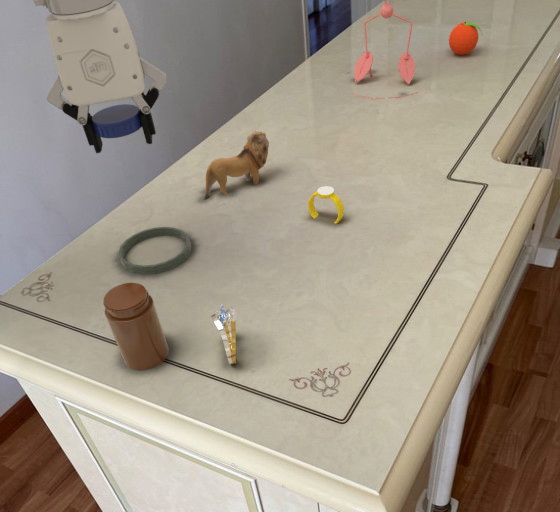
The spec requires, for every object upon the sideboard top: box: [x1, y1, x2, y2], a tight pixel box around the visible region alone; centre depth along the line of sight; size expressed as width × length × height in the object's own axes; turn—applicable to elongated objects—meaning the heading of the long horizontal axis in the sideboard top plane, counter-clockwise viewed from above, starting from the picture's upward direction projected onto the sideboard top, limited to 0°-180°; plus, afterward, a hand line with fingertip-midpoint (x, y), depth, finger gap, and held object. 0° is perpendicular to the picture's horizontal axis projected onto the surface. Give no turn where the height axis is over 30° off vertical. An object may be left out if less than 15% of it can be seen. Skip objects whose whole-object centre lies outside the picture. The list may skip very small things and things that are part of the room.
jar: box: [103, 282, 170, 371], centre depth 74 cm, size 6×6×11 cm
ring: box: [210, 303, 238, 365], centre depth 74 cm, size 7×3×8 cm, turn 5°
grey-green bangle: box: [117, 226, 192, 276], centre depth 94 cm, size 11×11×2 cm
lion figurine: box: [203, 130, 270, 201], centre depth 105 cm, size 15×5×9 cm, turn 125°
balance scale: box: [345, 0, 419, 100], centre depth 124 cm, size 15×26×35 cm, turn 65°
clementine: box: [448, 21, 483, 56], centre depth 143 cm, size 8×7×7 cm
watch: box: [307, 185, 345, 225], centre depth 95 cm, size 6×3×6 cm, turn 57°
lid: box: [92, 103, 142, 139], centre depth 80 cm, size 7×7×2 cm
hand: (124, 143), depth 82 cm, fingers closed on lid, 6 cm apart
